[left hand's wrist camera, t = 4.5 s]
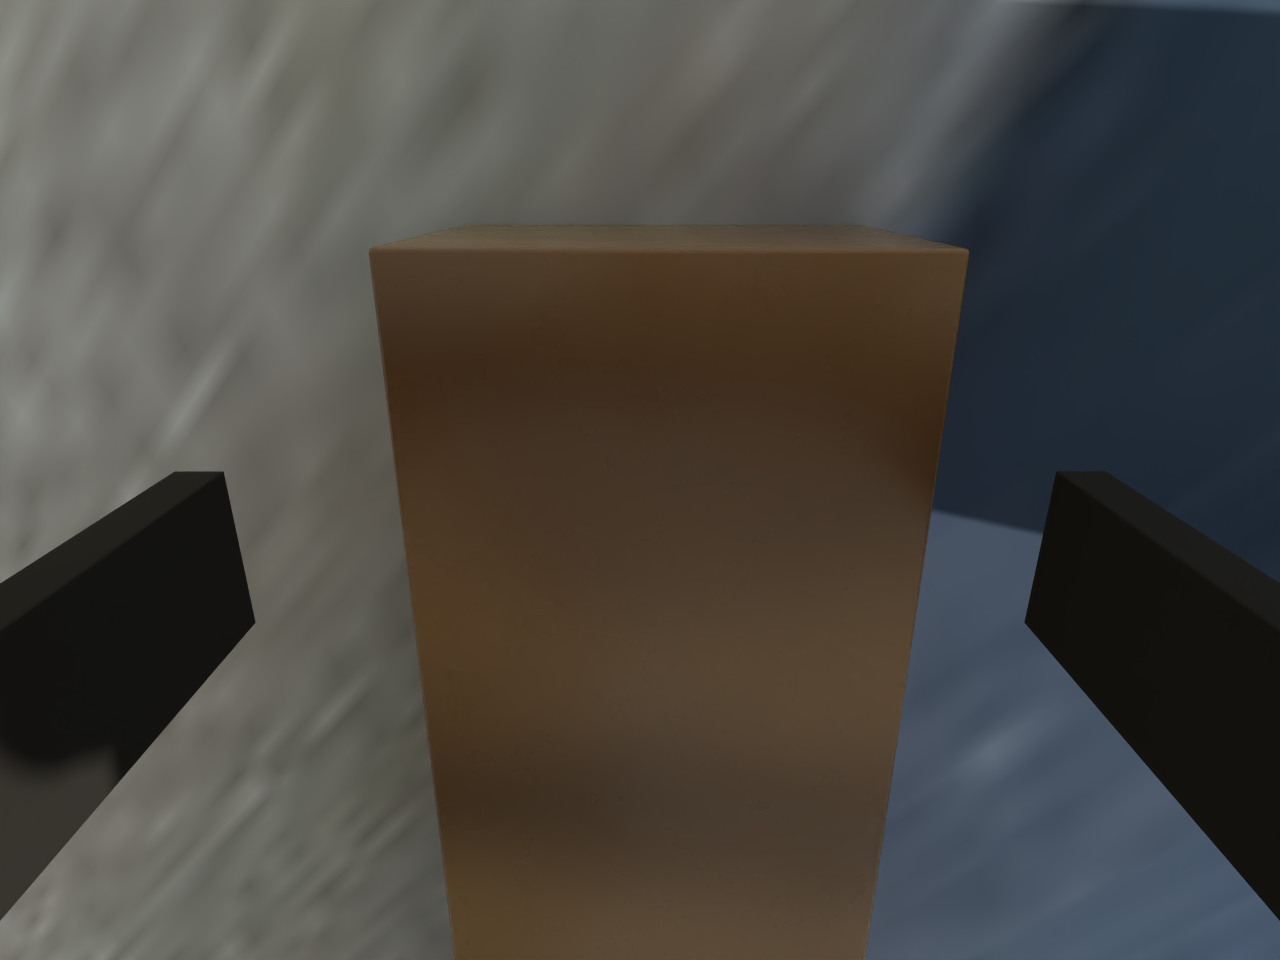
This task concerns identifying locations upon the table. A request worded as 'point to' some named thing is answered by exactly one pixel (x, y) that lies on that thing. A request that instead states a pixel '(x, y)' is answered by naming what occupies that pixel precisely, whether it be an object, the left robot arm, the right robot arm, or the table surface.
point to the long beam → (664, 571)
